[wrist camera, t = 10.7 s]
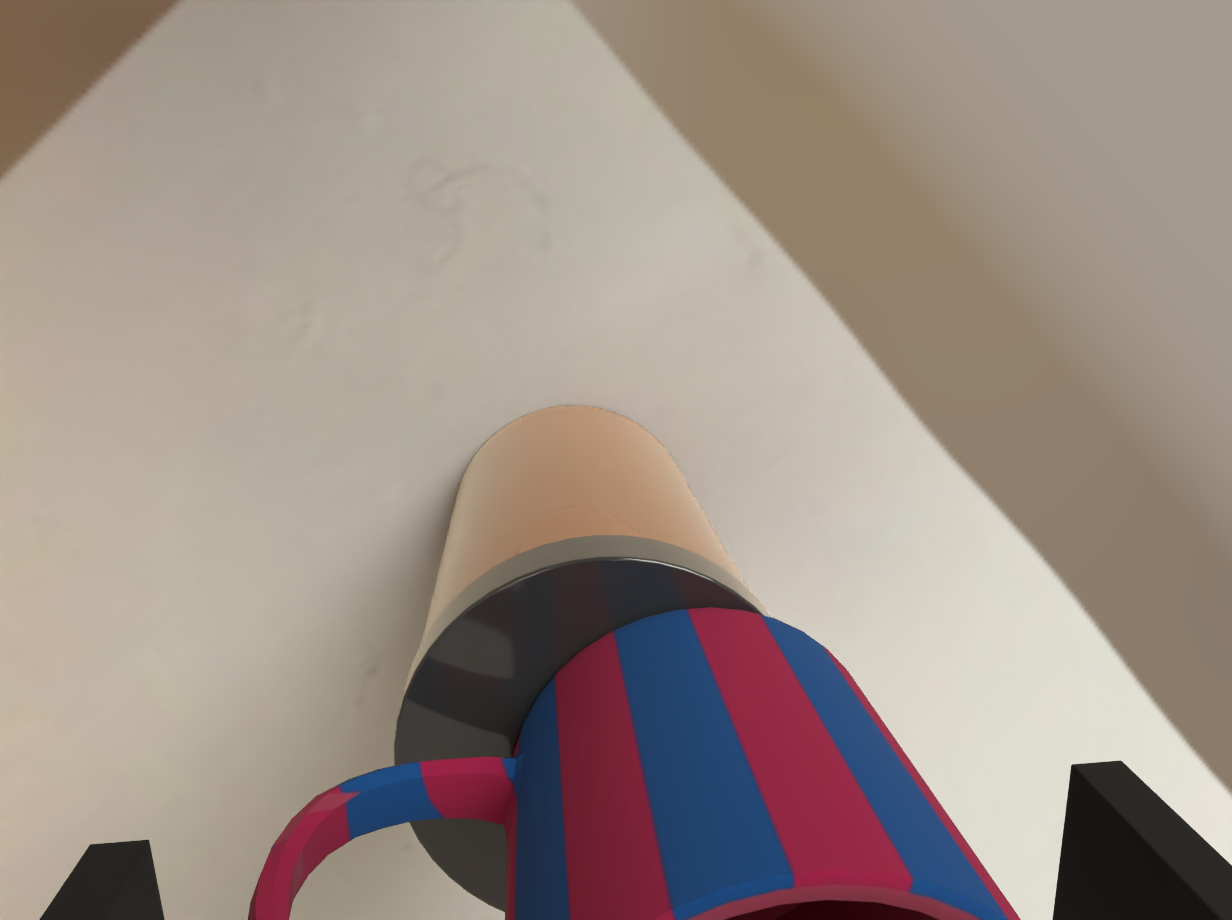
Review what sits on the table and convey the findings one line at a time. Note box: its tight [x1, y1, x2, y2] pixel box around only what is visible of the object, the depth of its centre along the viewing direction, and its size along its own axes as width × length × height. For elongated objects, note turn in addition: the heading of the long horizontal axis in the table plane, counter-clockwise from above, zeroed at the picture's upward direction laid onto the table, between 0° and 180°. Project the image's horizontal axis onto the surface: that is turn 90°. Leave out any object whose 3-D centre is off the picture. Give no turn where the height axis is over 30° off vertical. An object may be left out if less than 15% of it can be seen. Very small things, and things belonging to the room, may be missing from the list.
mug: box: [248, 607, 1021, 920], centre depth 13 cm, size 7×10×7 cm
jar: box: [394, 406, 771, 912], centre depth 23 cm, size 8×8×13 cm
